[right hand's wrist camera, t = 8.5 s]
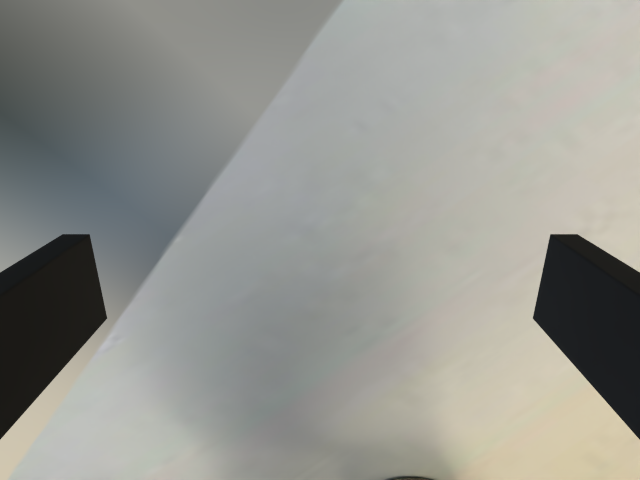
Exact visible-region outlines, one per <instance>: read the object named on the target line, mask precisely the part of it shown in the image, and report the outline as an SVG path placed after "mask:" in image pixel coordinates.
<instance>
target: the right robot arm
mask: <svg viewBox="0 0 640 480" xmlns="http://www.w3.org/2000/svg"><path fill="white" fill-rule="evenodd" d="M106 319H107V316H106V311H105V306H104V301H103V297H102V292H101V287H100V282H99V277H98V273H97V268H96V263H95V258H94V253H93V249H92V244H91V239H90V235H89V234H63V235H61V236H59V237H58V238H56V239H54V240H53V241H51V242H49V243H48V244H46V245H45V246H43V247H41V248H40V249H38V250H36V251H35V252H33V253H32V254H30V255H28V256H27V257H25V258H23V259H22V260H20V261H18V262H17V263H15V264H14V265H12V266H10V267H9V268H7V269H5V270H4V271H2V272H1V273H0V439H1V438H2V437H3V436H4V435H5V433H6V432H7V431H8V430H9V429H10V428H11V427H12V426H13V424H14V423H15V422H16V421H17V420H18V419H19V418H20V416H21V415H22V414H23V413H24V412H25V411H26V410H27V409H28V407H29V406H30V405H31V404H32V403H33V402H34V401H35V399H36V398H37V397H38V396H39V395H40V394H41V393H42V391H43V390H44V389H45V388H46V387H47V386H48V385H49V384H50V382H51V381H52V380H53V379H54V378H55V377H56V376H57V375H58V373H59V372H60V371H61V370H62V369H63V368H64V367H65V365H66V364H67V363H68V362H69V361H70V360H71V359H72V358H73V356H74V355H75V354H76V353H77V352H78V351H79V350H80V348H81V347H82V346H83V345H84V344H85V343H86V342H87V341H88V339H89V338H90V337H91V336H92V335H93V334H94V332H95V331H96V330H97V329H98V328H99V327H100V326H101V325H102V323H103V322H104V321H105V320H106ZM533 319H534V320H535V321H536V322H537V323H538V325H539V326H540V327H541V328H542V329H543V330H544V331H545V333H546V334H547V335H548V336H549V337H550V338H551V339H552V341H553V342H554V343H555V344H556V345H557V346H558V347H559V348H560V350H561V351H562V352H563V353H564V354H565V355H566V356H567V358H568V359H569V360H570V361H571V362H572V363H573V364H574V365H575V367H576V368H577V369H578V370H579V371H580V372H581V373H582V375H583V376H584V377H585V378H586V379H587V380H588V381H589V382H590V384H591V385H592V386H593V387H594V388H595V389H596V390H597V392H598V393H599V394H600V395H601V396H602V397H603V398H604V399H605V401H606V402H607V403H608V404H609V405H610V406H611V407H612V409H613V410H614V411H615V412H616V413H617V414H618V415H619V416H620V418H621V419H622V420H623V421H624V422H625V423H626V424H627V426H628V427H629V428H630V429H631V430H632V431H633V432H634V433H635V435H636V436H637V437H638V438H639V439H640V272H638V271H636V270H635V269H633V268H631V267H630V266H628V265H626V264H625V263H623V262H622V261H620V260H618V259H617V258H615V257H613V256H612V255H610V254H608V253H607V252H605V251H604V250H602V249H600V248H599V247H597V246H595V245H594V244H592V243H591V242H589V241H587V240H586V239H584V238H582V237H581V236H579V235H577V234H550V239H549V244H548V249H547V253H546V258H545V263H544V268H543V273H542V277H541V282H540V287H539V292H538V297H537V301H536V306H535V311H534V316H533ZM394 480H427V479H421V478H400V479H394Z"/></svg>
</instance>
